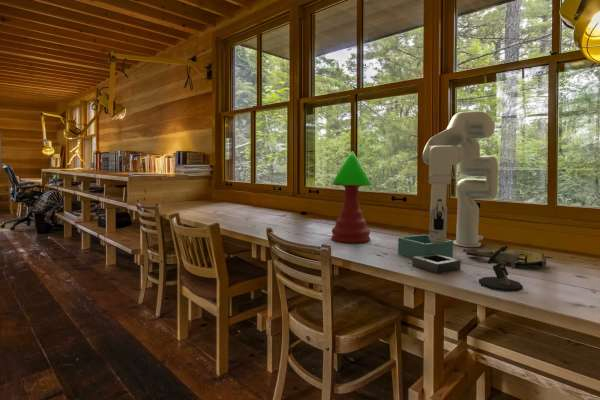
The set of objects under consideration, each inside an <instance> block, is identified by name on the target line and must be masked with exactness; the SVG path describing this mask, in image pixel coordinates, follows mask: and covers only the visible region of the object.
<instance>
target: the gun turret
mask: <svg viewBox="0 0 600 400" xmlns="http://www.w3.org/2000/svg"><path fill="white" fill-rule="evenodd" d="M508 248H509V246H508V245H505V246H502V247H500V248H498V249H499V250H498V251H497V252H495V253H492V254H489V253H484V252H478V251H472V250H468V249H465V248H463V249H462V252H463V253H466V252H468V253H473V254H479V255H484V256H490V258H489V259H488V262H487V264H493V263H494V262H493V261H495V260H496V259H498V260H499V263H497V264H496V265H492V269H493V273H495V276H483V277H481V278H479V279H478V284H479V285H480V284H481V285H480V286H481V287H483V286H484V288H486V289H490V290H492V291H493V290H494V291H497V292H498V291H499V292H506V293H507V292H510V293H511V292H519V291H521V290H523V287H524V286H523V284H521V282H520V281H516V280H513V279H511V278H508V275H509V272H508V270H507V267H506V265H504V264H505V261H509V262H511V267H510V268H511V269H512V270H515V269H516V268H515V263H517V262H519V260H524V261H525V264H527V256H525V259H523V258H519V255H520V254H515V253H509V252H505V250H506V249H507V250H508Z"/></svg>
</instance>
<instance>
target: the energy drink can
mask: <svg viewBox="0 0 600 400" xmlns="http://www.w3.org/2000/svg"><path fill="white" fill-rule="evenodd" d="M443 209H444V207H443ZM436 210H438V209H436ZM434 219H435V210H433V211H432V210H431V206H429V228H428V229H429V233H428V235H429V240H430V241H431V243H435V244H443V243H445V241H446V239H447V231H448V229H447V228H448V227H447V226H448V206H447V205H446V208H445V211H444V210H443V219H444V225H443V230H434Z"/></svg>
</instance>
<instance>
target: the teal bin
mask: <svg viewBox="0 0 600 400" xmlns="http://www.w3.org/2000/svg"><path fill="white" fill-rule="evenodd" d="M453 241H454V240H452V239H447V238H446V241H445V243H443V244H435V243H431V241H430V240H429V234H419V235H418V234H416V235H410V236H401V237H398V240H397V243H398V244H397V245H398V246H397V254H399V255H402V256H405V257H409V258H411V259H413V257H416V256H422V255H429V254H439V255H443V256H446V257H450V258H454V257H453V256H454V255H453V254H454V244H453Z"/></svg>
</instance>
